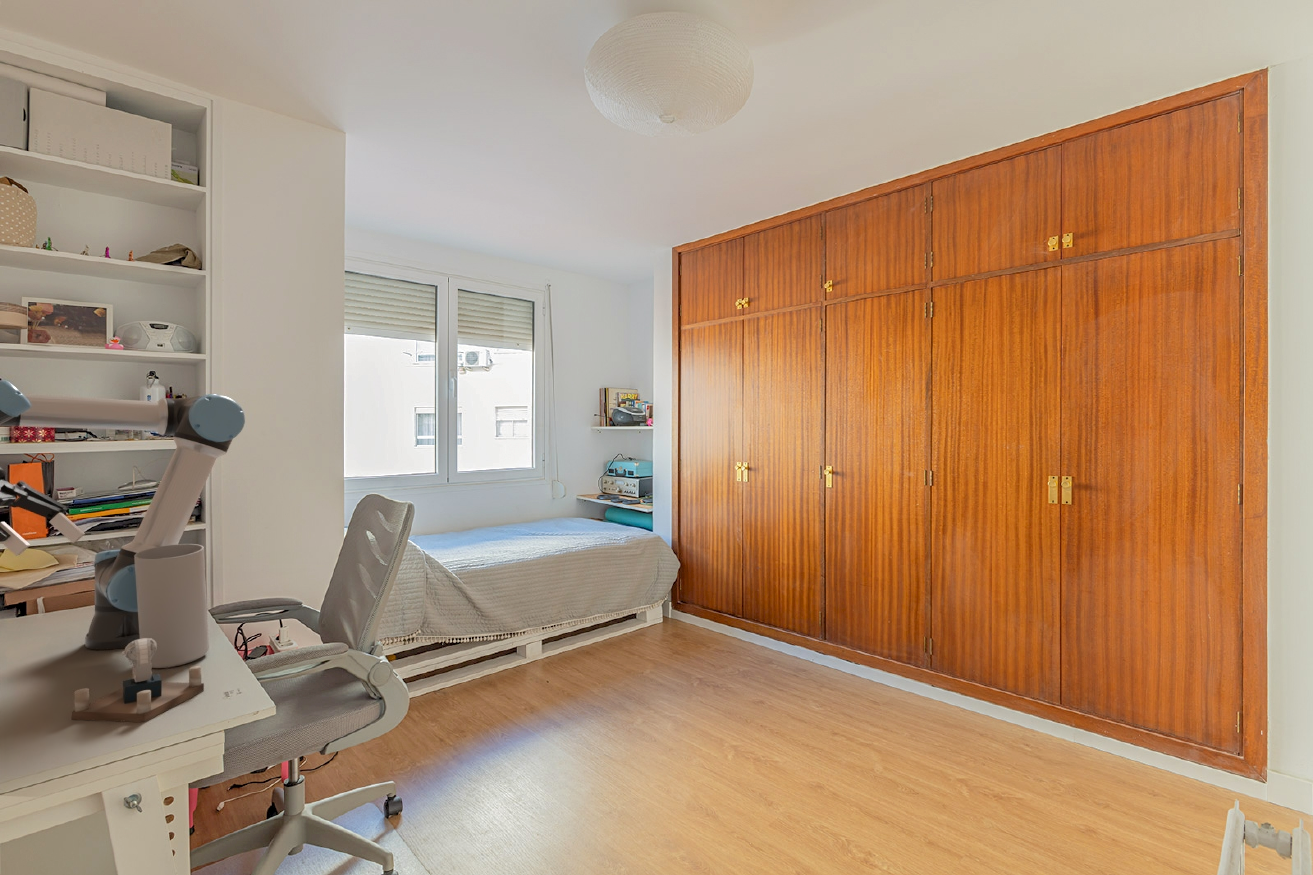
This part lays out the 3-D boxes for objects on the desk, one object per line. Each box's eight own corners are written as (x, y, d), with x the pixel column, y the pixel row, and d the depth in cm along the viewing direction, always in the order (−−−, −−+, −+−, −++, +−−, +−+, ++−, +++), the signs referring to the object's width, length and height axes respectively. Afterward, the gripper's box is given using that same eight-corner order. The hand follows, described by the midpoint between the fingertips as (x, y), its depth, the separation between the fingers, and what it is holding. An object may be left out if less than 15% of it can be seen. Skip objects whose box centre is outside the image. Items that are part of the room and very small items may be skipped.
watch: (157, 686, 127) (157, 631, 127) (162, 698, 121) (162, 641, 121) (121, 693, 123) (121, 637, 123) (124, 707, 118) (124, 648, 118)
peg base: (138, 688, 130) (138, 664, 130) (203, 690, 129) (203, 666, 129) (71, 719, 116) (71, 692, 116) (144, 722, 115) (144, 694, 115)
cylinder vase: (136, 657, 146) (129, 551, 143) (202, 640, 155) (196, 541, 152) (147, 675, 137) (139, 563, 135) (215, 657, 146) (209, 551, 144)
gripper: (10, 478, 139) (86, 546, 141) (-114, 489, 114) (-20, 570, 116) (37, 454, 139) (112, 522, 141) (-80, 460, 115) (12, 541, 117)
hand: (52, 544), depth 129 cm, fingers open, 13 cm apart
